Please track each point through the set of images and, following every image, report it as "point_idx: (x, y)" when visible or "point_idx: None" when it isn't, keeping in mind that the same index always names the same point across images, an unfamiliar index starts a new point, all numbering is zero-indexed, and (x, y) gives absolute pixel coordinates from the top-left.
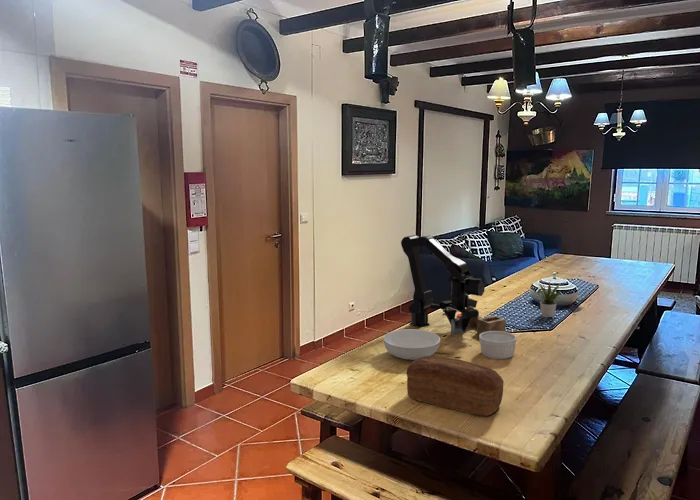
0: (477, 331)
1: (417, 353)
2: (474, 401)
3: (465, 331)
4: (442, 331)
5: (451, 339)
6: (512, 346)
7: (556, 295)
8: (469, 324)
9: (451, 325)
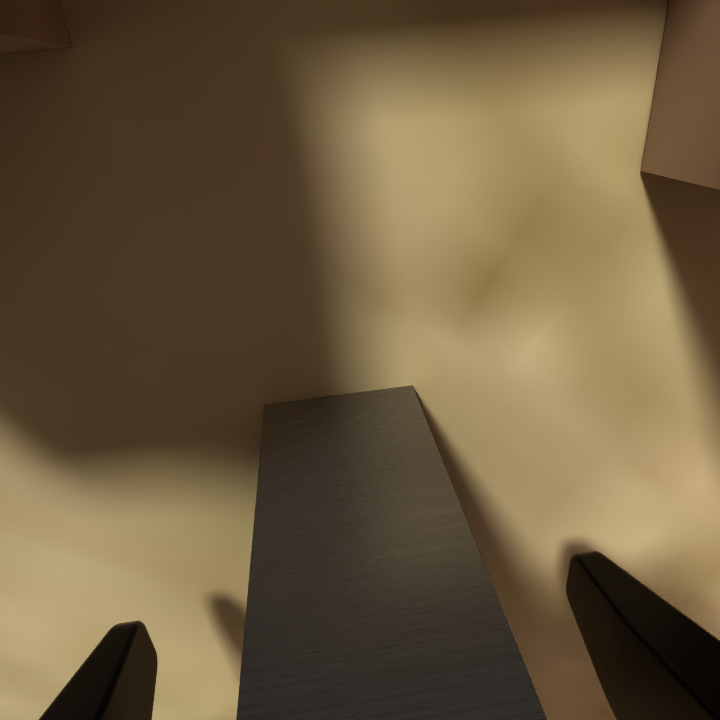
0: (696, 177)
1: None
2: None
3: (417, 414)
4: (153, 707)
5: (569, 713)
6: None
7: None
8: (5, 36)
9: None
